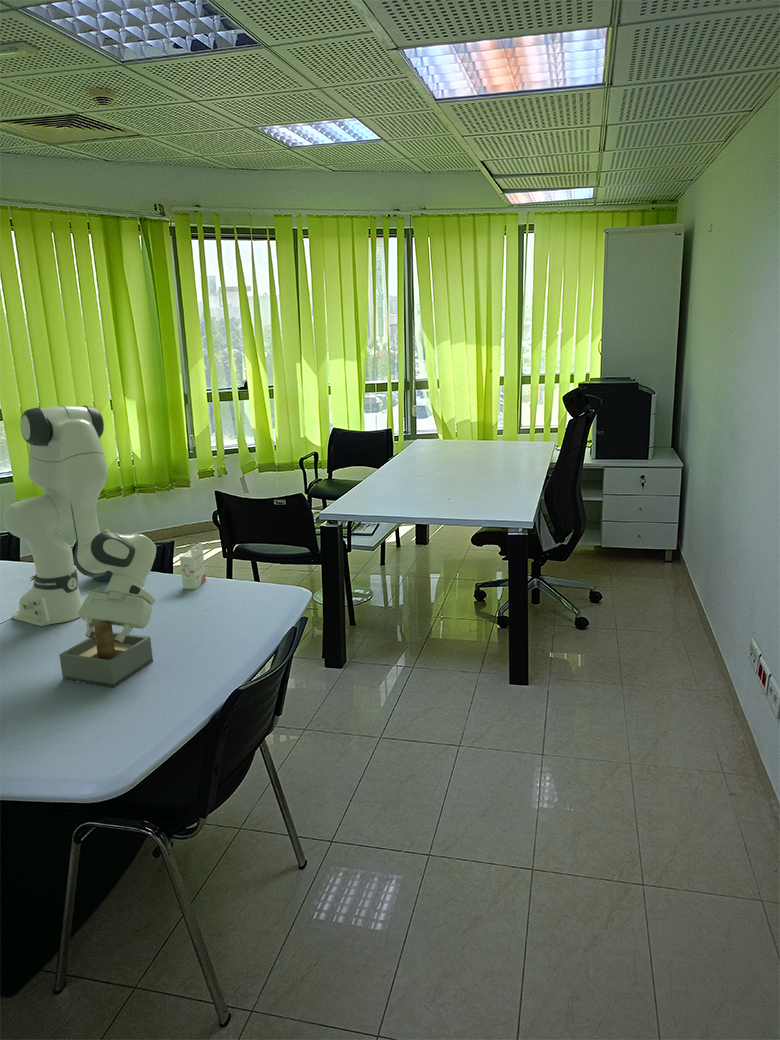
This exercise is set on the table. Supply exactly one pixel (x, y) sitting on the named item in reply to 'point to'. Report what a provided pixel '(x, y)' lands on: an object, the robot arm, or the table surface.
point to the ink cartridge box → (193, 568)
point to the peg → (104, 640)
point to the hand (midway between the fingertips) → (103, 639)
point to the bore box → (106, 661)
